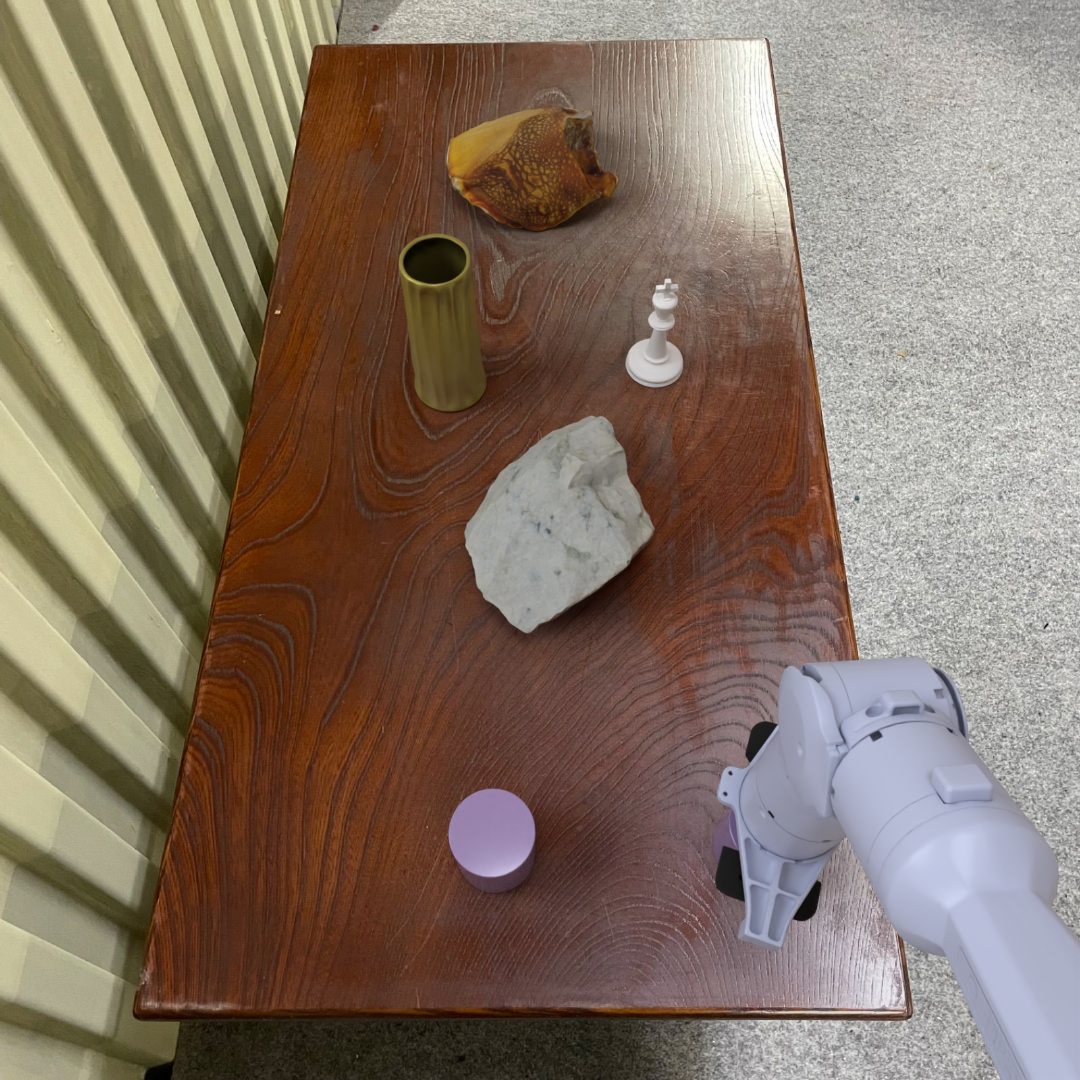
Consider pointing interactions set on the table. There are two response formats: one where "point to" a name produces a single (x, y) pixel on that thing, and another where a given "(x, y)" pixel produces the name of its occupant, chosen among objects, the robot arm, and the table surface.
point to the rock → (557, 524)
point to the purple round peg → (725, 833)
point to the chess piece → (657, 344)
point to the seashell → (530, 166)
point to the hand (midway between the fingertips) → (758, 840)
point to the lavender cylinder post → (493, 840)
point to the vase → (442, 322)
